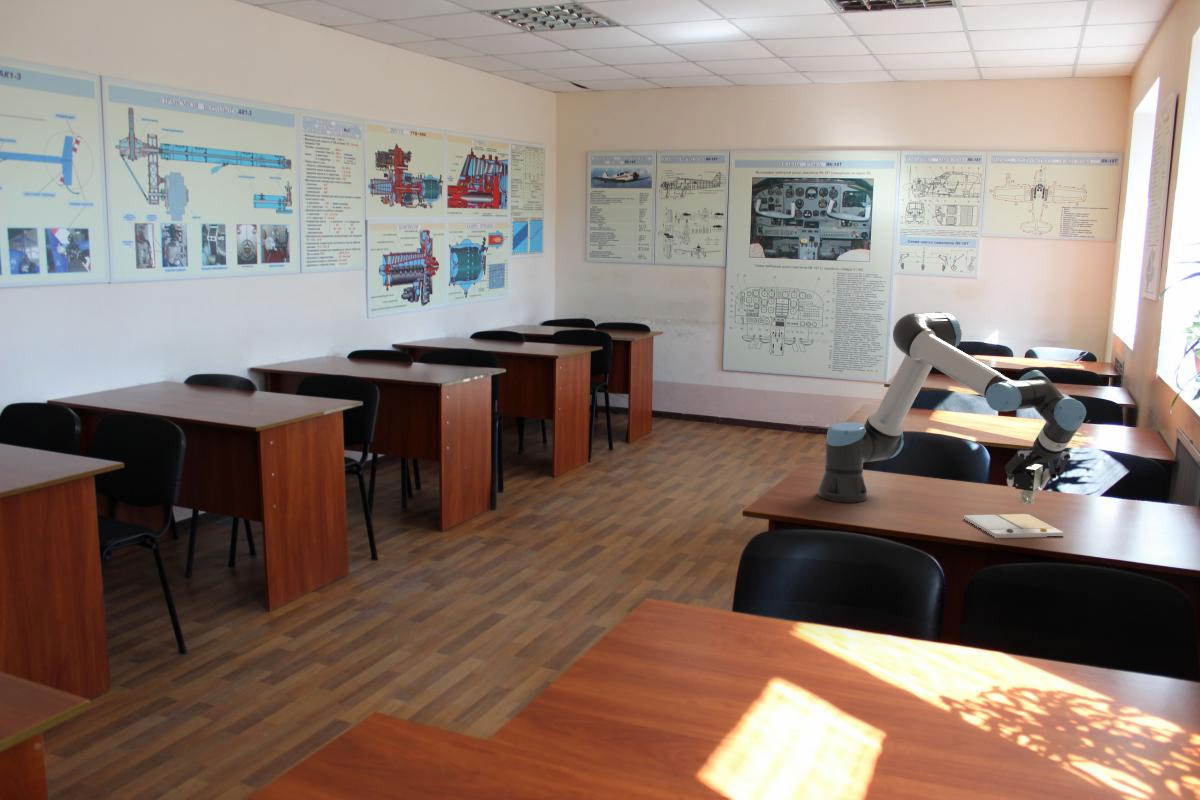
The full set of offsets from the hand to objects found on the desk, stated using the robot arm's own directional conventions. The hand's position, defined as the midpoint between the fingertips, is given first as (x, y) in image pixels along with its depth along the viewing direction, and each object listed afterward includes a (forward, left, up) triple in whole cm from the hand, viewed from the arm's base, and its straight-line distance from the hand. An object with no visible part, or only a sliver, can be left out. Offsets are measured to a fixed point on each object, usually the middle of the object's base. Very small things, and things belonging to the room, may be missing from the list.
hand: (1024, 484), depth 276 cm
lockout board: (+5, -6, -12) cm, 14 cm away
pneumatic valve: (+3, -1, -5) cm, 6 cm away
